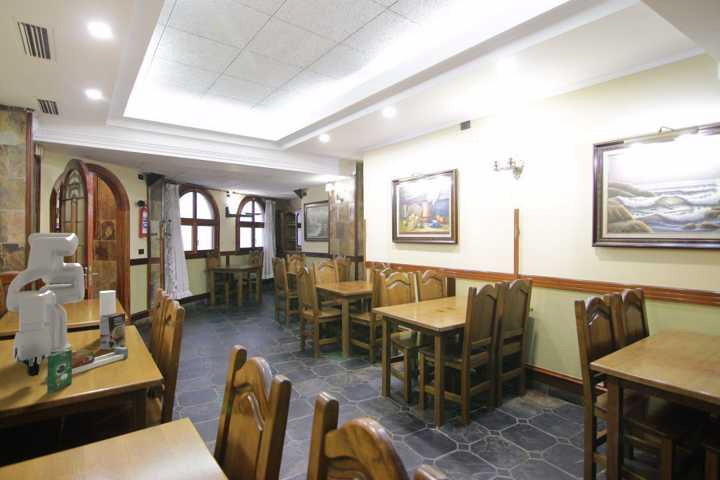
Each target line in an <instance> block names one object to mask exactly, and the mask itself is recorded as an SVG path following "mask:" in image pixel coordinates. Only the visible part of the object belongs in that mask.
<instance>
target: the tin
mask: <svg viewBox="0 0 720 480" xmlns="http://www.w3.org/2000/svg"><path fill="white" fill-rule="evenodd" d="M95 358H96V357H95V353H94V352H93V351H92V350H90V349H87V348H86V349H85V348H82V349H77V350H72V369H74V368H77V367H80V366H84V365H87V364H90V363H93V362H94V359H95Z"/></svg>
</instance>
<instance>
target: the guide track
mask: <svg viewBox="0 0 720 480" xmlns="http://www.w3.org/2000/svg"><path fill="white" fill-rule="evenodd" d="M125 358H129V348H127V347H123V346H120V347H115V348H114V349H113V352H109V353H106V354H103V355H100V356H97V357H95V359H94V362H93V363H90V364H87V365H84V366H80V367H77V368H74V369H72V375H76V374H79V373H82V372H85V371H87V370H91V369H93V368H97V367H101V366H104V365H106V364H110V363H114V362H116V361H119V360H123V359H125Z"/></svg>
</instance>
